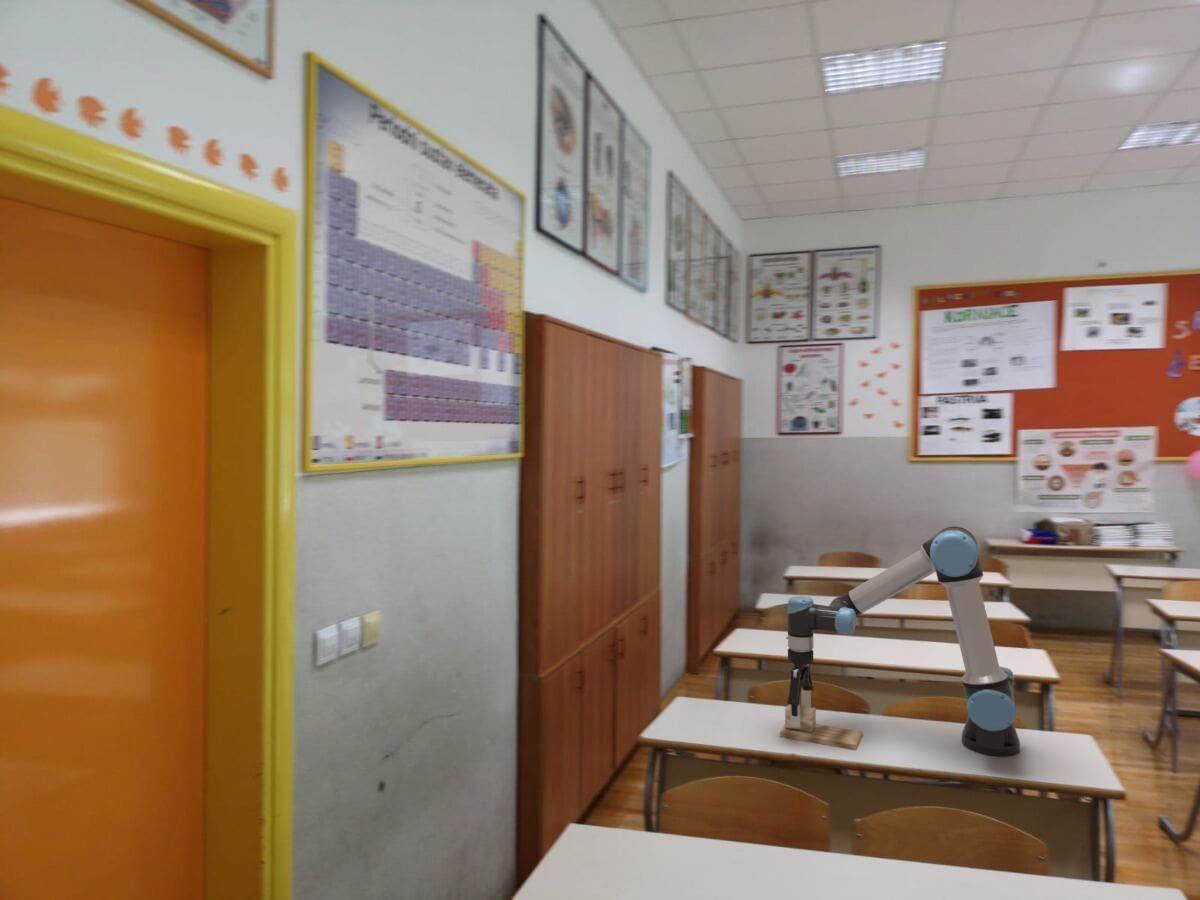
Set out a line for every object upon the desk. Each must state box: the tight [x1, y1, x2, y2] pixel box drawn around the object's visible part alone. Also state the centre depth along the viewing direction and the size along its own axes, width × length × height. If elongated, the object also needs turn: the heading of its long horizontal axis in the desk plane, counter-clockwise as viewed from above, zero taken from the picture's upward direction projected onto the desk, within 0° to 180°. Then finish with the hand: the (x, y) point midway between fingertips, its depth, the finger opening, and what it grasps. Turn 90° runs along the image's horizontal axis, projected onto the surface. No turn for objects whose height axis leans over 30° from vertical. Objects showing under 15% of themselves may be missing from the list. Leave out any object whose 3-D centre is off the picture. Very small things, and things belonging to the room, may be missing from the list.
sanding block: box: [784, 704, 817, 733], centre depth 240 cm, size 8×5×6 cm, turn 62°
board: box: [779, 723, 863, 751], centre depth 237 cm, size 22×11×2 cm, turn 62°
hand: (800, 718), depth 240 cm, fingers open, 13 cm apart
